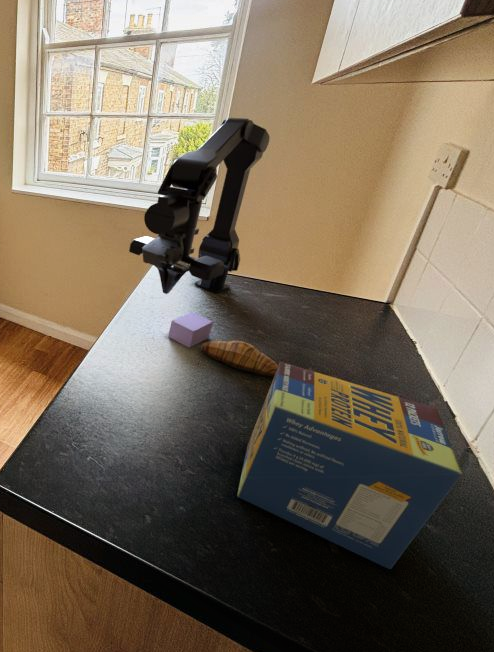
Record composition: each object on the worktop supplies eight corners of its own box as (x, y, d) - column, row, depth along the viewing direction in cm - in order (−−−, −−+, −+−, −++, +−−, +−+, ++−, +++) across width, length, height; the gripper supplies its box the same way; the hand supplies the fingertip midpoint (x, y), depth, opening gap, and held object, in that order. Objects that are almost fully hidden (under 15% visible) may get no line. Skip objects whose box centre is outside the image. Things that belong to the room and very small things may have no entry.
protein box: (245, 445, 59) (278, 359, 52) (381, 501, 51) (442, 408, 44) (235, 498, 52) (272, 405, 45) (393, 573, 44) (468, 474, 37)
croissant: (195, 359, 78) (201, 337, 76) (204, 344, 83) (209, 323, 81) (276, 388, 71) (285, 365, 69) (280, 369, 76) (289, 347, 73)
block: (187, 327, 89) (191, 311, 87) (208, 337, 85) (213, 321, 83) (167, 336, 85) (171, 320, 84) (189, 348, 82) (193, 331, 80)
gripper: (117, 218, 83) (107, 286, 90) (201, 244, 69) (182, 322, 76) (151, 210, 89) (139, 275, 96) (235, 233, 75) (214, 306, 82)
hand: (165, 293), depth 87 cm, fingers closed
